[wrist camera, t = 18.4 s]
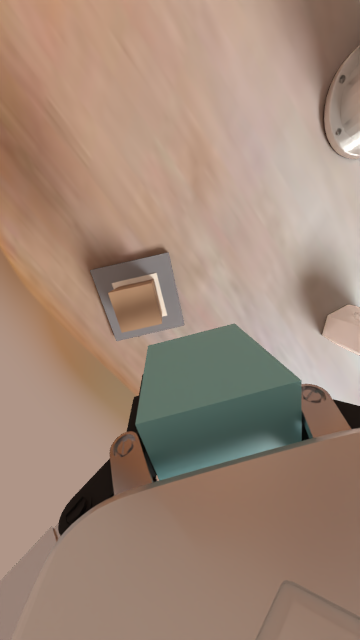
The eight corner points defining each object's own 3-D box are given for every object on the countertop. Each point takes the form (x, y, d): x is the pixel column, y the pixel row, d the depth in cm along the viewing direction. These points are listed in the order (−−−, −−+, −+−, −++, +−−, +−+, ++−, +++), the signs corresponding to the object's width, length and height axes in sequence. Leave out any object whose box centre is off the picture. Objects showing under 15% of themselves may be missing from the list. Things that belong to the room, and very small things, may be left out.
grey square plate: (92, 269, 29) (89, 270, 28) (168, 252, 30) (168, 252, 28) (118, 338, 34) (116, 341, 32) (183, 323, 34) (184, 325, 33)
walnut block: (118, 286, 29) (108, 292, 24) (153, 278, 29) (151, 283, 24) (129, 319, 31) (121, 332, 26) (162, 312, 31) (162, 323, 26)
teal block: (148, 345, 12) (135, 424, 6) (234, 323, 12) (301, 380, 6) (170, 412, 14) (176, 519, 8) (244, 393, 14) (301, 484, 8)
